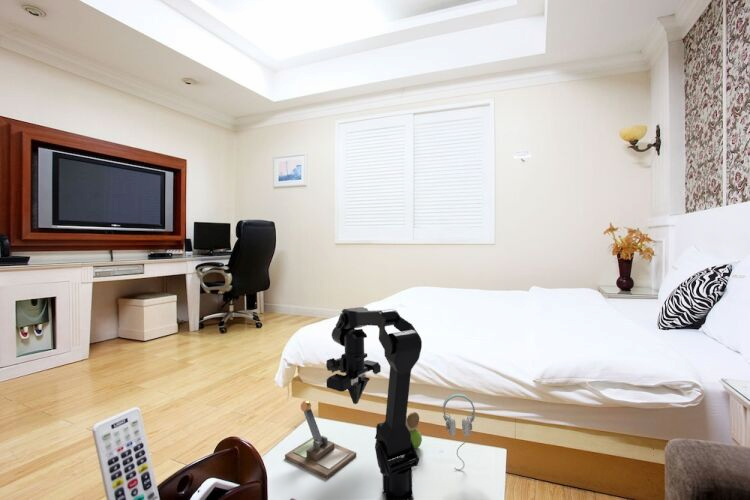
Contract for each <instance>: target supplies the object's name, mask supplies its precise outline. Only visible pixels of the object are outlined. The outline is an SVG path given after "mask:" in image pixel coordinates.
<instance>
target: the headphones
mask: <svg viewBox="0 0 750 500" xmlns="http://www.w3.org/2000/svg"><path fill="white" fill-rule="evenodd" d="M453 398H463V399H466V400H467V401H468V402H469V403H470V405H471V406H472V413H471V415H470V414H468V415H467V416H464V417H462V419H461V427H462V433H463V435H464V436H467V439H466V440H465V441H464V442H462V444H461V445H459V447H457V450H456V456H457V458H458V459H459V460H460V461H461V463H463V466H462V468H456V467H454V470H457V471H462V470H463V469H464V468H465V462H464V460H463V459H462V458H461V457H460V455H458V451H459V449H460V448H461V447H462V446H463V445H465V443H467V442H468V440H469V438H470V435H471V431H473V422H475V421H474V420H475V413H476V412H475V411H476V409H475V405H474V403H473V401H472V399H471V398H470V397H468V395H466V394H463V393H460V392H459V393H458V392H457V393H452V394H450V395H449V396H447V397H446V399H444V401H443V405H442V412H443V415H442V418H443V420H444V421H445V429H446V430H447V431H448V435H449V436H455V435H456V431H457V430H456V429H457V427H456V425H457V424H456V419H455V417H453V416H450V414H449V413H446V412H445V410H446V409H445V408H446V405H447V404H448V403H449V401H450V400H451V399H453Z"/></svg>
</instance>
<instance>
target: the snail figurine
mask: <svg viewBox="0 0 750 500" xmlns="http://www.w3.org/2000/svg"><path fill="white" fill-rule="evenodd" d="M419 421H420V415H419V413H418V412H416V411H412V412H410V413H409V414H408V415H407V416H406V426H407V428H408V430H409V431H410V433H411V441H412V443H413V446H414V448H415V450H416V449H418V448H420V446H421V444H422V442H423V441H422V439H423V438H422V434H421V432H420V431H419V430H417V428H418V427H419Z"/></svg>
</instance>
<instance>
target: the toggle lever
mask: <svg viewBox="0 0 750 500" xmlns="http://www.w3.org/2000/svg"><path fill="white" fill-rule="evenodd" d="M300 409H301V411H302V412H303V414H304V416H305V419H306V422H307V425H308V428H309V430H310V433H311V435H312V438H313V439H314V441H317V442H320V445H321V444H323V440H322V437H321V436H322V435H321V433H320V429H319V427H318V424H317V421H316V419H315V417H314V414H313V410H312V404H311V401H309V400H304V401H302V402H301V403H300Z"/></svg>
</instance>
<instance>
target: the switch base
mask: <svg viewBox="0 0 750 500" xmlns="http://www.w3.org/2000/svg"><path fill="white" fill-rule="evenodd" d="M321 437H322V440H323V444H321V445H320V442H317V441H314V439H313V437H311V438H310V439H308V440H306V441H304V443H302V444H300V445H298V446H297V447H295V448H293V449H292V450H290V451H288V452H286V453H285V454H284V459H286V460H289V461H290V462H292V463H294V464H296V465H298V466H300V467H302V468H304V469H306V470H308V471H310V472H312V473H314V474H316V475H318V476H320V477H322V478H324V479H326V480H328V479H329V478H330V477H332V476H333V475H334V474H336V473H337V472H338V471H339V470H341V469H342V468H343V467H344V466H346V465H347V464H348V463H350V461H352V460H353V459H355V457H357V452H355V451H353V450H350V449H348V448H346V447H344V446H341V445H339V444H336V443H335V442H332V441H330V440H329V439H328V437H326V436H324V435H321Z"/></svg>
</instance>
